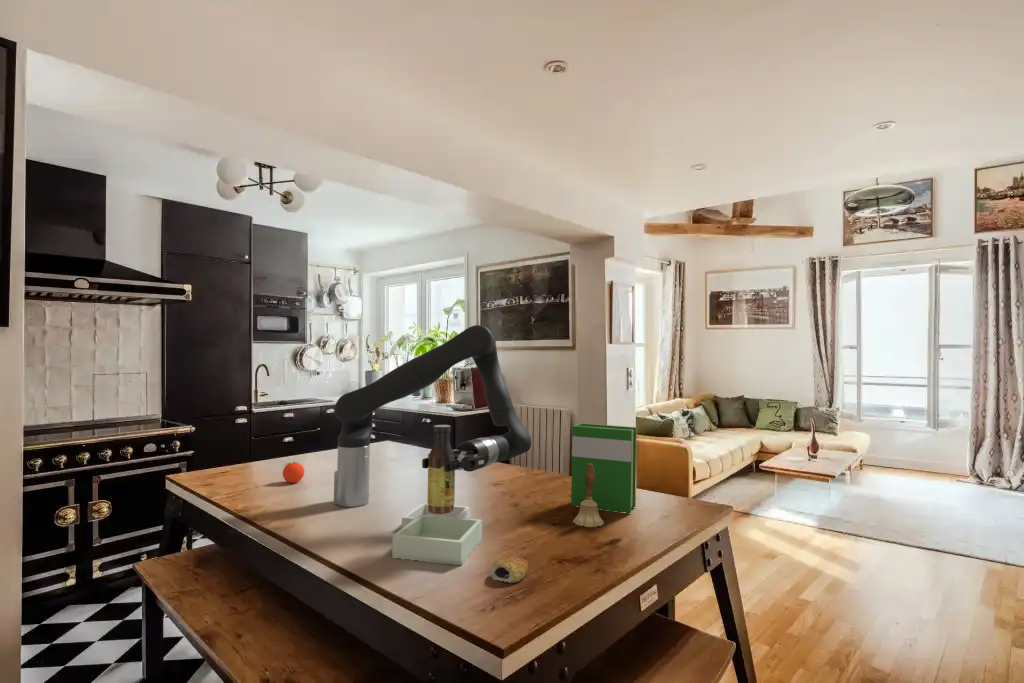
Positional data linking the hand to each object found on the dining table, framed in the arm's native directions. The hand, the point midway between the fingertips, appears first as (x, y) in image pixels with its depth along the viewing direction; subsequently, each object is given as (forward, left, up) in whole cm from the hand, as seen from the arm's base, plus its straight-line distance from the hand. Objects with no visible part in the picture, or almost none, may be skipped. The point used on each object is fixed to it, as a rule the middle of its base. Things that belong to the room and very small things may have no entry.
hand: (434, 465), depth 124 cm
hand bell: (+33, +31, -20) cm, 49 cm away
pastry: (+20, -8, -20) cm, 29 cm away
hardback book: (+36, +47, -20) cm, 62 cm away
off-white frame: (-6, +19, -20) cm, 28 cm away
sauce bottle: (+1, +2, -11) cm, 11 cm away
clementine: (-69, +46, -20) cm, 86 cm away
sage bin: (+1, +2, -20) cm, 20 cm away
